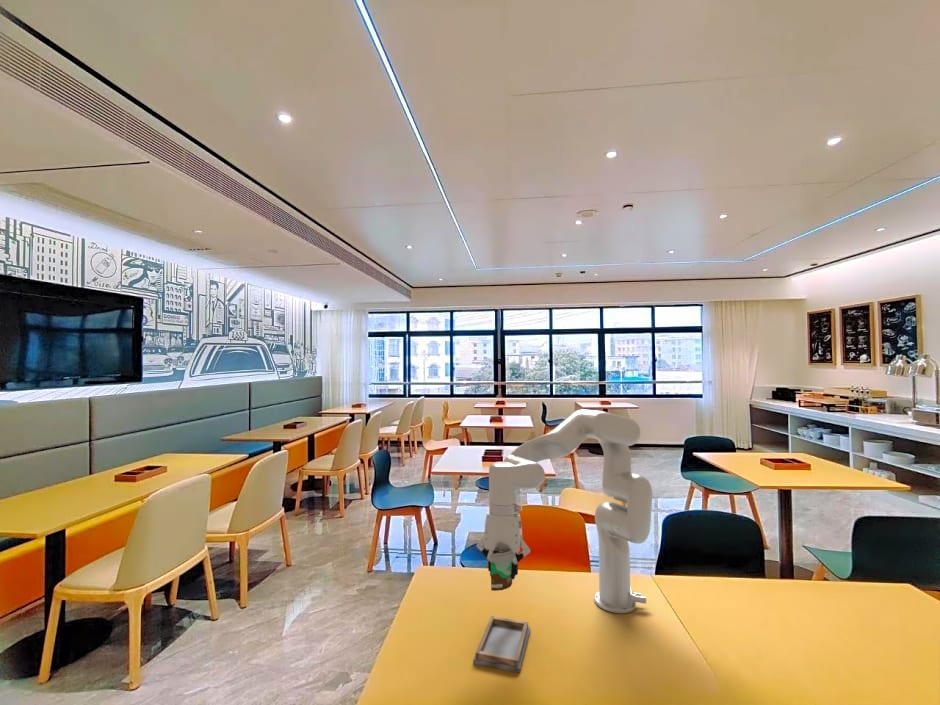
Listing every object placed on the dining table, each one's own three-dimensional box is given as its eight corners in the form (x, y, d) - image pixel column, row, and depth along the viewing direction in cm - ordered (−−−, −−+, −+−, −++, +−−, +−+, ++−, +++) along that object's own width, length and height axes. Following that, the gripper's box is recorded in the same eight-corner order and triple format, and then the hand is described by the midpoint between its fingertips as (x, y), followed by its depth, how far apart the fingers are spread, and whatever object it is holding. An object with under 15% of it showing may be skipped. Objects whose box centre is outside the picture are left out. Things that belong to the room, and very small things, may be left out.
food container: (513, 596, 110) (513, 556, 110) (490, 593, 111) (490, 554, 112) (518, 573, 122) (518, 537, 122) (497, 571, 123) (497, 536, 124)
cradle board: (530, 630, 123) (530, 621, 123) (519, 672, 106) (519, 662, 106) (489, 623, 127) (489, 614, 127) (473, 663, 109) (473, 653, 109)
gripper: (535, 506, 119) (536, 573, 118) (476, 501, 124) (476, 565, 123) (531, 515, 112) (532, 586, 111) (469, 509, 117) (469, 577, 116)
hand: (503, 574), depth 117 cm, fingers closed on food container, 5 cm apart
